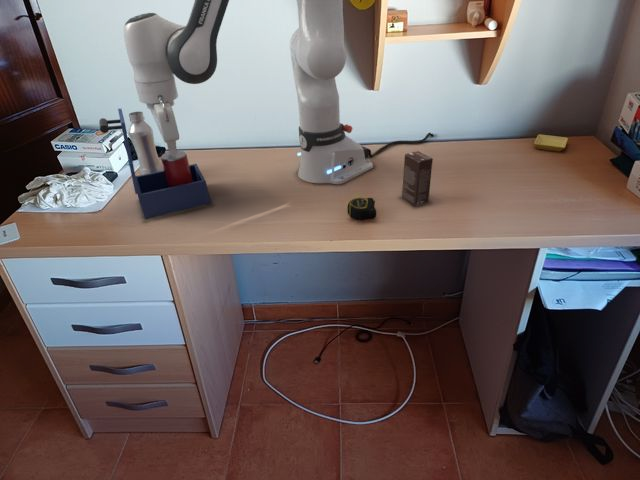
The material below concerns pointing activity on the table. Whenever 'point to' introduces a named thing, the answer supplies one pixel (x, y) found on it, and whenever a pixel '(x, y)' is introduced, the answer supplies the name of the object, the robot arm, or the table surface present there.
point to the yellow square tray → (550, 142)
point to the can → (176, 169)
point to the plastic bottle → (144, 144)
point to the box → (417, 178)
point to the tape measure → (362, 209)
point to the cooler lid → (105, 128)
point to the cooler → (170, 193)
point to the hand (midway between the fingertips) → (170, 147)
